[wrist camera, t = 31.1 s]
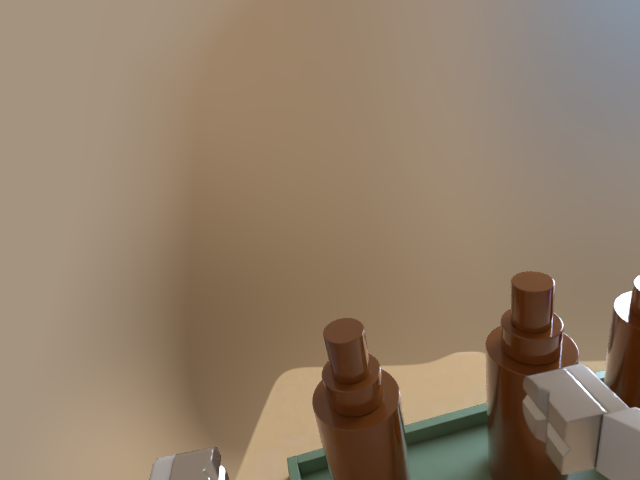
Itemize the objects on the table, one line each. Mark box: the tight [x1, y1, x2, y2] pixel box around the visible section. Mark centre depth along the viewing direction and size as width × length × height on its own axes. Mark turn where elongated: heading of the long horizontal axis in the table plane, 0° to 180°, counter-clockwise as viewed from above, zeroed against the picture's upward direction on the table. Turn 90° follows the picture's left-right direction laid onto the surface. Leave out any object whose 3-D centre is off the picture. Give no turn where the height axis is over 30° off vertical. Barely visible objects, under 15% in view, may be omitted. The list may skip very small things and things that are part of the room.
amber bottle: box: [312, 318, 411, 480], centre depth 29 cm, size 6×6×17 cm
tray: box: [287, 370, 610, 480], centre depth 33 cm, size 32×12×2 cm, turn 100°
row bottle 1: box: [486, 271, 579, 480], centre depth 30 cm, size 6×6×17 cm
